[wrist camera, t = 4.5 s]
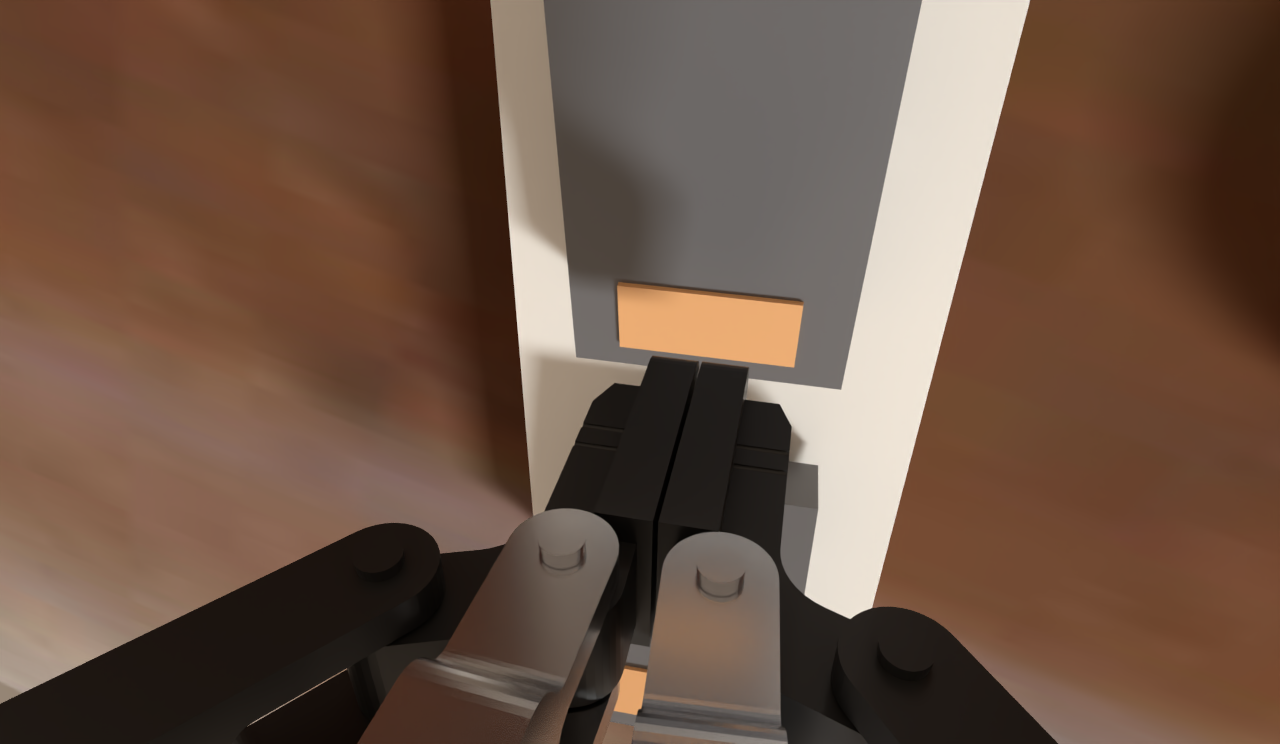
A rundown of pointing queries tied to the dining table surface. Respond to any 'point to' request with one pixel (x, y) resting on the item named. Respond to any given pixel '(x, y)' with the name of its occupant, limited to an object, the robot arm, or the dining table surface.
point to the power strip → (888, 308)
